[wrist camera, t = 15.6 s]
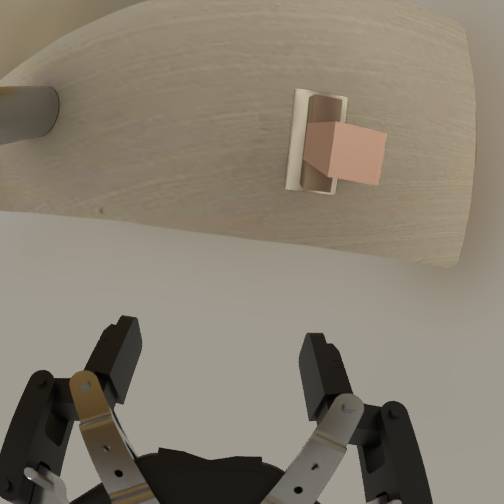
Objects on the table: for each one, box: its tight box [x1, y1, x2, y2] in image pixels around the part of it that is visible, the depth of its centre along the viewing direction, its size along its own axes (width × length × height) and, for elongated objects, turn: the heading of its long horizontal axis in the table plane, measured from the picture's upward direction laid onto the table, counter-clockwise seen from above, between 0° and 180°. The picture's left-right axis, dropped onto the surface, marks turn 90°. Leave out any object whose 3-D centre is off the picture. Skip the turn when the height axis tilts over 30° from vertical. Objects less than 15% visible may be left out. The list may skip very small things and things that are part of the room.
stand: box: [285, 88, 347, 195], centre depth 32 cm, size 7×14×5 cm, turn 175°
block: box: [303, 121, 387, 186], centre depth 25 cm, size 4×4×12 cm
